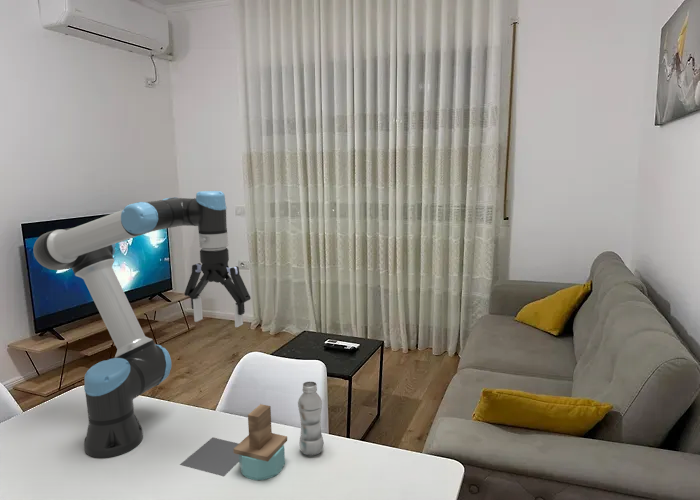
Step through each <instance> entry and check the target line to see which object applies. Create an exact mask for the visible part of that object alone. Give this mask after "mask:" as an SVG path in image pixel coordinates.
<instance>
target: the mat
mask: <svg viewBox="0 0 700 500" xmlns="http://www.w3.org/2000/svg"><path fill="white" fill-rule="evenodd" d="M239 443H240V442H239ZM239 443H238V442H234V441H229V440H225V439H221V438H218V437H211V438H210V439H209V440H207V441H206V442H205V443H204V444H203V445H201V446H200V447H199V448H198V449H197V450H196V451H194V452H193V453H192V454H191V455H190V456H188V457H187V458H185V460H184V461H182V462H181V463H180V464H179V465H180V466H183V467H187V468H190V469H194V470H198V471H202V472H205V473H209V474H212V475H217V476H222V477H225V476H226V475H227V474H228V473H229V472H230V471H231V470H232V469H233V468H234V467H236V465H237V464H238V463H239V454H235V453H234V450H233V449H234V448H235V447H236V446H237V445H238V444H239Z"/></svg>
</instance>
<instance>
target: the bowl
mask: <svg viewBox="0 0 700 500" xmlns="http://www.w3.org/2000/svg"><path fill="white" fill-rule="evenodd" d="M238 463H239V464H238V465H239V468H240V473H241V475H242V476H244V477H245V478H247V479H249V480H252V481H262V480H263V481H264V480H269V479H271V478H274V477H276V476H277V475H279V474H280V472H281V471H283V469H284V466H285V465H286V460H285V444H284V445H283V446H282V447H281V448H280V449H279V450H278V451H277V452H276V453H275V454H274V455H273V457H272V458H271V459H270V460H269V461H268V462H267V461H263V460H259V459H255V458H251V457H247V456H243V455H239V462H238Z"/></svg>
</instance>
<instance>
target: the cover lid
mask: <svg viewBox="0 0 700 500" xmlns="http://www.w3.org/2000/svg"><path fill="white" fill-rule="evenodd" d="M271 409H272V407H271V405H267V404H263V403H260V404H259V405H258V406H257V407H255V409H253V410H251V412H249V413H248V414H247V423H248V427H247V428H248V435H247V436H246V437H244V438H243V440H241V441H240V442H239V444H238V445H237V446H236V447H235V448H234V449H233V450H234V453H235V454H239V455H243V456H247V457H251V458H255V459H259V460H263V461H267V462H268V461H269V460H270V459H271V458H272V457H273V455H274V454H275V453H276V452H277V451H278V450H279V449H280V448H281V447H282V446H283V445H284V446H285V444H286V443H287V441H288V436H286V435H282V434H279V433H273V432H272V429H273V428H272V412H271V411H272V410H271Z"/></svg>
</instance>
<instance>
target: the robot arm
mask: <svg viewBox="0 0 700 500" xmlns="http://www.w3.org/2000/svg"><path fill="white" fill-rule="evenodd" d="M183 226H190V227H191V226H192V227H197V228H198V229H197V230H198V241H199V248H201V249H200V250H199V258H200V259H199V260H200V263H195V264H192V265H191V274H190V275H189V276H190V277H189V278H188V282H187V285H186V288H185V291H184V296H185V297H189V298H190V303H191V310H193V319H194V322H195V323H196V322H197V323H198V322H200V321H201V320H203V317H204V316H203V305H202V304H203V303H202V302H203V301H202V297H201V293H202V292H203V290H204V289H205V288H206V286H207V284H208V283H212V282H215V283H220V285H222V286H224V288H225V289H226V290H227V292H228V293H229V295H230V296H231V298H233V300H234V301H235V303H234V304H233V310H234V311H233V313H234V327H235V328H239V327H240V326H242V325H244V317H243V315H244V314H245V303H246V302H248V301H250V300H251V296H250V294H249V291H248V289H247V286H246V285H245V283H244V281H243V278H242V276H241V273H240V268H239V266H236V265H235V266H233V267H229V259H230V256H229V249H228V248H227V247H228V246H229V237H228V236H229V235H228V228H227V205H226V195H225V193H224V192H223V191H220V190H203V191H202V190H201V191H197V192H196V194H195V197H194V198H190V197H189V198H182V197H166V198H163V199H160V200H152V201H139V202H134V203H130V204H128V205H126V206H125V207H124V209H121V210H118V211H116V212H113V213H111V214H110V213H109V214H108V215H104V216H102V217H100V218H96V219H94V220H91V221H88V222H86V223H83V224H80V225H77V226H75V227H71V228H70V227H68V228H64V229H59V228H58V229H55V230H51V231H47V232H46V233H43V234H41V235H40V236H39V237H38V238H37V239H36V241H35V242H34V245H33V250H32V251H33V256H34V258H35V260H36V262H38V263H39V265H41V266H42V267H44V268H46V269H48V270H54V271H62V270H63V271H64V270H68V269H69V270H70V269H72V272H73V275H74V276H75V277H78V278H80V279H82V280H83V282H84V284H85V285H86V287H87V289H88V291H89V294H90V296H91V298H92V300H93V302H94V304H95V306H96V308H97V311H98V312H99V314H100V317H101V319H102V321H103V323H104V325H105V327H106V328H107V331H108V333H109V336H110V337H111V340H112V342H113V344H114V346H115V347H116V349H117V350H116V353H115V356H114V357H113V358H108V359H107V360H102V361H99V362H98V363H96V364H93V365H92V366H91V367H90V368H89V369H88V370H87V371H86V373H85V374H84V380H83V381H84V387H83V388H84V389H83V390H84V393H85V400H86V409H87V418H88V425H87V429H86V436H85V438H84V442H83V445H84V447H83V448H84V452H85V453H86V455H87V456H89V457H92V458H97V459H100V458H101V459H103V458H104V459H105V458H111V457H117V456H119V455H122V454H125V453H128V452H130V451H132V450H133V449H136V447H138V446H139V445H140V444H141V442H142V441H143V438H144V435H143V433H144V432H143V428H142V426H141V424H140V422H139V420H138V418H137V415H136V414H135V409H134V408H135V407H134V399H136V398H138V397H139V396H141V395H143V394H144V393H146V392H148V391H149V390H151V389H153V388H155V387H157V386H159V385H160V384H161V383H162V382H164V381H165V380H167V378H168V377H169V376H170V374H171V370H172V359H171V356H170V353H169V351H168V350H167V349H166V347H163V346H162V345H160V344H156V343H155V341H154V339H153V338H151V337H148V336H146V335H145V333H144V331H143V329H142V327H141V325H140V322H139V320H138V319H137V315H136V314H135V312H134V310H133V308H132V306H131V304H130V302H129V300H128V298H127V295H126V294H125V291H124V289H123V288H122V285H121V282H120V281H119V279H118V277H117V274H116V272H115V271H114V269H113V265H114V262H115V258H114V255H115V254H116V249H115V248H116V244H117V243H121V242H124V241H127V240H129V239H133V238H136V237H138V236H142V235H145V234H149V233H151V232H157V231H160V230H167V229H171V228H175V227H176V228H177V227H183ZM201 272H202V274H203V275H201ZM200 275H201V278H200ZM198 281H199V282H198ZM197 283H198V284H197Z"/></svg>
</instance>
